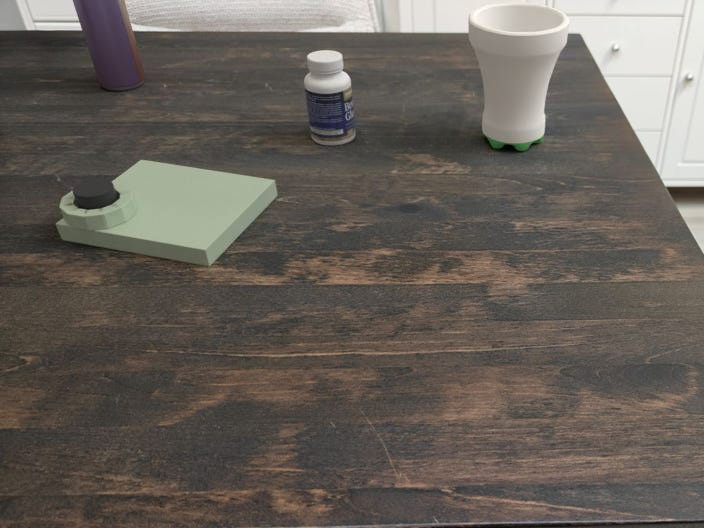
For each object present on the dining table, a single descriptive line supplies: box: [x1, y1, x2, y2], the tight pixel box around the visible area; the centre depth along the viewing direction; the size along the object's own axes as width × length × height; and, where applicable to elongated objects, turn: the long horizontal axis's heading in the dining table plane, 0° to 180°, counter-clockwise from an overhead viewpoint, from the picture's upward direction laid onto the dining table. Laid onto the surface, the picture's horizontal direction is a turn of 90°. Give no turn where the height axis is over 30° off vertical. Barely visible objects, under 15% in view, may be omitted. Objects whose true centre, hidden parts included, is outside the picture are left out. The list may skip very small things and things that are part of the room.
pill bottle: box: [303, 49, 356, 147], centre depth 87 cm, size 5×5×10 cm
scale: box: [55, 159, 278, 267], centre depth 75 cm, size 16×14×4 cm
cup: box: [467, 1, 570, 152], centre depth 86 cm, size 11×11×14 cm
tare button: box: [72, 178, 118, 210], centre depth 71 cm, size 4×4×2 cm
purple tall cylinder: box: [72, 0, 146, 92], centre depth 97 cm, size 6×6×15 cm
